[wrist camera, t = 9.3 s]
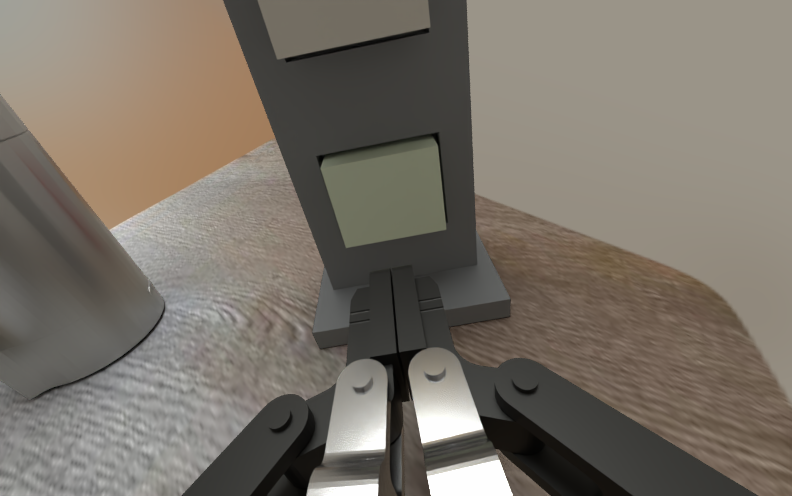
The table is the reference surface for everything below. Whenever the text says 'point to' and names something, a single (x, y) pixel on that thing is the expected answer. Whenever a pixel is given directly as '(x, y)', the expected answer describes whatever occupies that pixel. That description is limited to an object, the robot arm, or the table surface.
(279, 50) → the key middle
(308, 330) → the table surface
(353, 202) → the block
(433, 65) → the keypad panel
